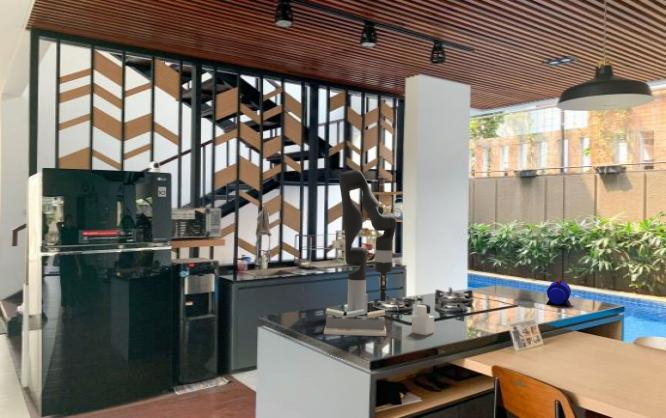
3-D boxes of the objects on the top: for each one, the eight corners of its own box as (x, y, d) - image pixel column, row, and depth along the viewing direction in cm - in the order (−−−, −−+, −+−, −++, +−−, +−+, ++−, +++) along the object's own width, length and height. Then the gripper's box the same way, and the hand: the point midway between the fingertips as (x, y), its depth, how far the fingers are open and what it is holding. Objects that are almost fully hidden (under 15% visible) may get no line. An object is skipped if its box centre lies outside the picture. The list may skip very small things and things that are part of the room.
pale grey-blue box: (364, 314, 225) (363, 308, 225) (364, 316, 220) (363, 311, 220) (347, 317, 225) (346, 312, 226) (347, 319, 220) (346, 314, 221)
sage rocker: (342, 317, 226) (343, 311, 226) (342, 319, 221) (343, 314, 221) (326, 313, 226) (327, 308, 226) (325, 315, 221) (326, 310, 221)
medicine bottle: (419, 330, 226) (420, 302, 226) (434, 332, 221) (434, 304, 221) (411, 332, 220) (411, 304, 220) (426, 335, 216) (426, 307, 216)
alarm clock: (571, 304, 298) (571, 278, 298) (568, 307, 287) (568, 280, 287) (548, 302, 304) (549, 276, 304) (545, 305, 294) (545, 278, 294)
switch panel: (385, 329, 226) (385, 316, 226) (386, 336, 213) (386, 322, 213) (326, 327, 228) (326, 314, 228) (323, 334, 215) (324, 321, 215)
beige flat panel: (385, 314, 224) (384, 309, 224) (386, 317, 219) (384, 311, 219) (368, 318, 225) (367, 312, 225) (368, 320, 220) (367, 314, 220)
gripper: (374, 259, 229) (374, 298, 229) (375, 261, 216) (374, 303, 216) (391, 259, 228) (390, 298, 228) (393, 262, 215) (392, 303, 215)
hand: (382, 300), depth 222 cm, fingers closed
